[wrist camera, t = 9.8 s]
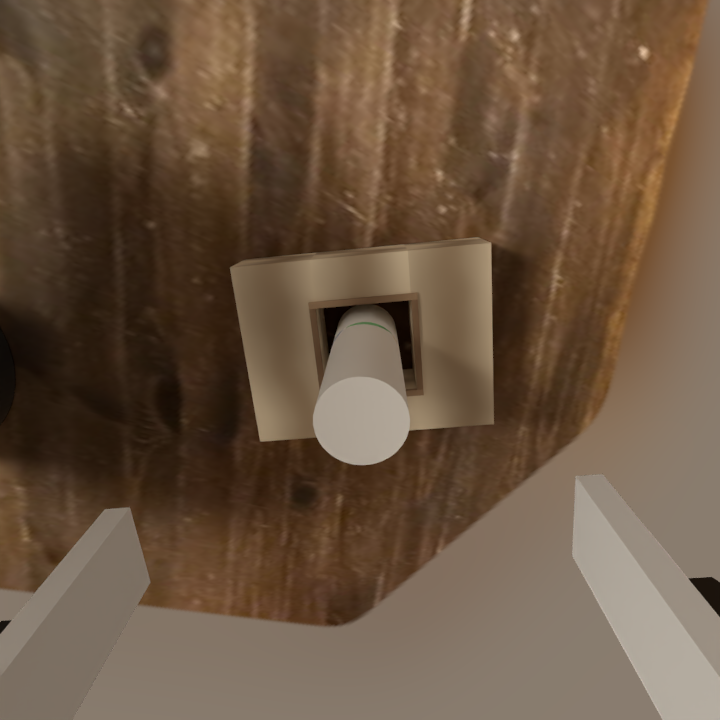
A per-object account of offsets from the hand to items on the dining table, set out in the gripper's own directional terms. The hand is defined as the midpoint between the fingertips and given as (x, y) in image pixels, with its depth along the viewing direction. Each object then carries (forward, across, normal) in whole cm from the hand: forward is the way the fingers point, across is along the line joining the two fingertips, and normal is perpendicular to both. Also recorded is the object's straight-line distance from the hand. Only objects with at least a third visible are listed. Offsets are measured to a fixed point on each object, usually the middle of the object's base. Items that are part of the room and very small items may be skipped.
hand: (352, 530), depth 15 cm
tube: (+23, 0, 0) cm, 23 cm away
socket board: (+23, 0, 0) cm, 23 cm away
